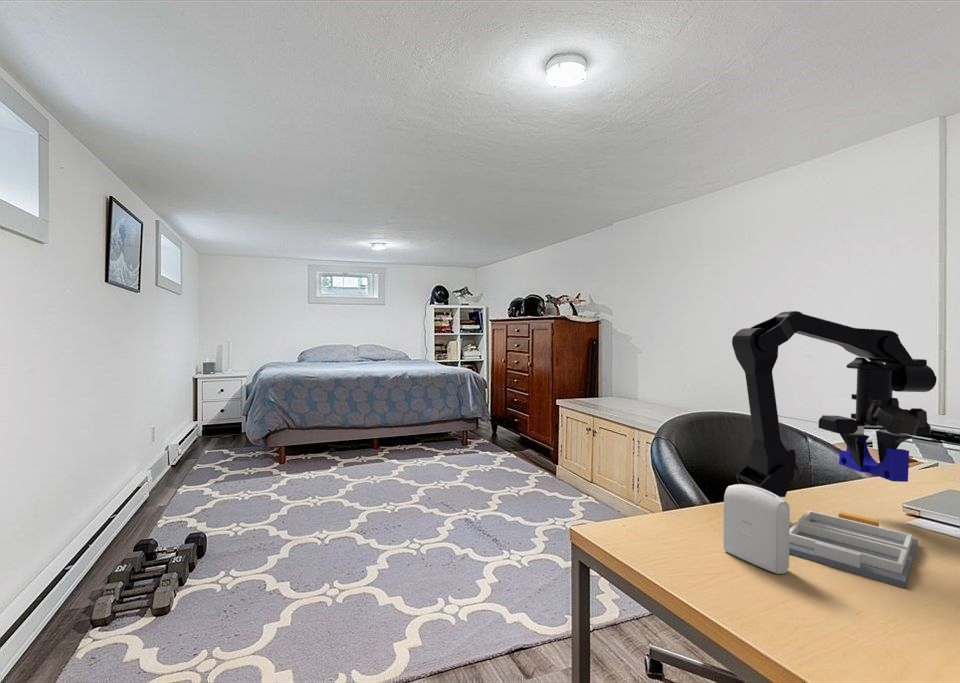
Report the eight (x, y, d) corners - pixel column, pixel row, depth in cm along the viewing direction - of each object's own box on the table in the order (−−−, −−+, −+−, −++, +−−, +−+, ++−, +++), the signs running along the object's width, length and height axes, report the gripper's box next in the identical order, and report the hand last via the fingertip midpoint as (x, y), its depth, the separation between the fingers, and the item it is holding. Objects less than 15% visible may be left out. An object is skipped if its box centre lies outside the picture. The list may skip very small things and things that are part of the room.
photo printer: (718, 550, 84) (720, 480, 84) (734, 545, 86) (736, 477, 85) (776, 577, 74) (779, 499, 74) (793, 572, 76) (795, 495, 76)
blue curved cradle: (839, 464, 104) (840, 436, 104) (859, 464, 104) (861, 437, 104) (884, 481, 92) (885, 450, 92) (907, 481, 92) (909, 451, 92)
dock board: (905, 588, 72) (905, 568, 72) (776, 550, 84) (777, 533, 84) (917, 545, 87) (918, 529, 87) (807, 518, 99) (807, 503, 99)
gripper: (858, 395, 90) (855, 477, 90) (959, 397, 90) (956, 480, 90) (817, 388, 101) (815, 461, 101) (907, 390, 101) (904, 463, 101)
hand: (871, 466), depth 98 cm, fingers closed on blue curved cradle, 4 cm apart
